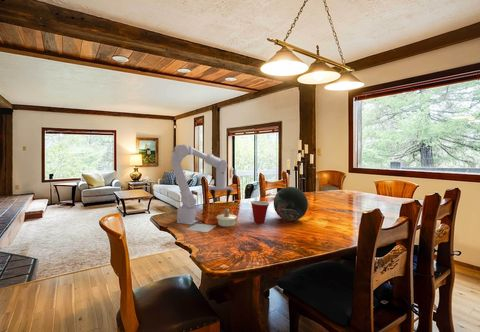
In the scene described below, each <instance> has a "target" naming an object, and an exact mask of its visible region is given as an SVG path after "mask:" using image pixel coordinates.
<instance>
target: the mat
mask: <svg viewBox="0 0 480 332" xmlns="http://www.w3.org/2000/svg"><path fill="white" fill-rule="evenodd" d="M216 227H217V225H214V224H203V223H194V224H193V225H192V226H190V227H188V228H186V229H185V231H193V232H201V233H209V232H210V231H212V230H213V229H214V228H216Z"/></svg>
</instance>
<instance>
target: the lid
mask: <svg viewBox="0 0 480 332" xmlns="http://www.w3.org/2000/svg"><path fill="white" fill-rule="evenodd" d="M237 217H238V216H237V215H235V214H231V213H230V208H224V211H223V214H217V215H216V219H217V220H218V219H219V220H235V221H236V220H237Z"/></svg>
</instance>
